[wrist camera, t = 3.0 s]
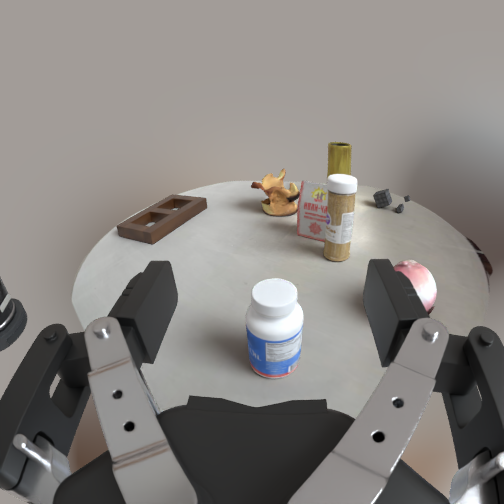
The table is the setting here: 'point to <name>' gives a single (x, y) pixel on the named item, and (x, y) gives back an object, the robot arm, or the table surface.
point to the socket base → (161, 218)
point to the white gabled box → (312, 210)
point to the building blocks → (387, 199)
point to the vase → (339, 158)
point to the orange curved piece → (278, 195)
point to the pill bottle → (274, 328)
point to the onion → (420, 281)
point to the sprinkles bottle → (339, 216)
